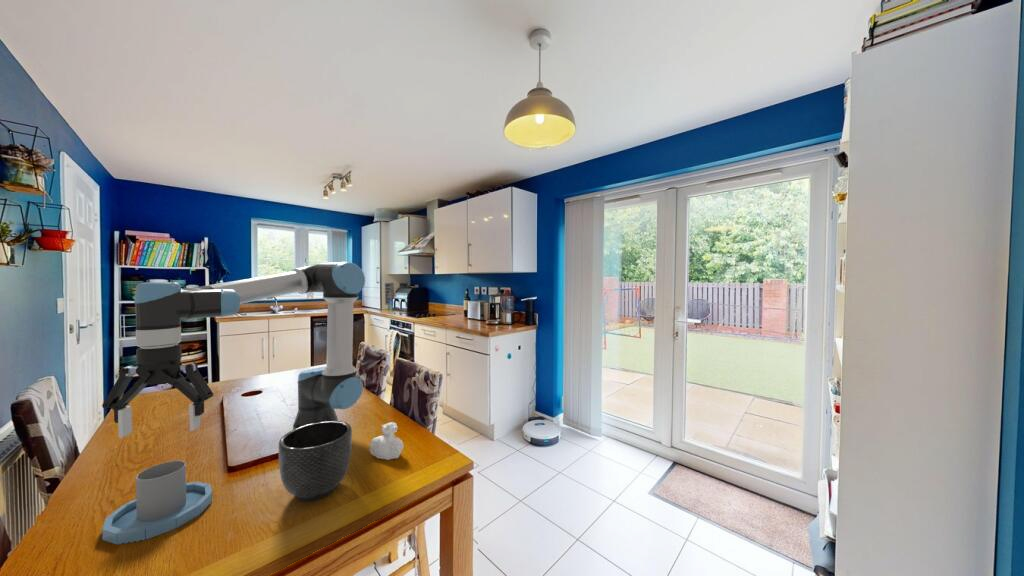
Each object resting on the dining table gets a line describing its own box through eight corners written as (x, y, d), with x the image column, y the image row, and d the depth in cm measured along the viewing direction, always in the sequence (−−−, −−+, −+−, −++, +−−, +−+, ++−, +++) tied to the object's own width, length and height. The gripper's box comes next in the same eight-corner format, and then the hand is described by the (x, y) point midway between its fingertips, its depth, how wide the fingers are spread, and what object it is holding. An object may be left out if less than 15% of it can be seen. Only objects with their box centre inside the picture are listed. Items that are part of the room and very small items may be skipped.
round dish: (226, 486, 92) (226, 477, 92) (181, 533, 75) (181, 523, 75) (144, 497, 87) (144, 488, 87) (77, 551, 70) (76, 540, 70)
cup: (153, 524, 76) (153, 482, 76) (126, 519, 78) (126, 477, 78) (195, 501, 84) (194, 462, 84) (170, 496, 86) (169, 458, 86)
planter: (299, 523, 78) (298, 456, 78) (266, 497, 88) (266, 438, 87) (364, 485, 93) (364, 429, 93) (330, 466, 102) (330, 415, 102)
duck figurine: (404, 463, 108) (415, 427, 115) (393, 459, 102) (405, 421, 109) (372, 459, 111) (384, 424, 117) (360, 454, 105) (373, 418, 111)
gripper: (229, 340, 87) (230, 419, 88) (106, 345, 80) (108, 430, 81) (212, 346, 80) (213, 432, 80) (76, 351, 73) (78, 445, 74)
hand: (161, 431), depth 81 cm, fingers open, 13 cm apart
